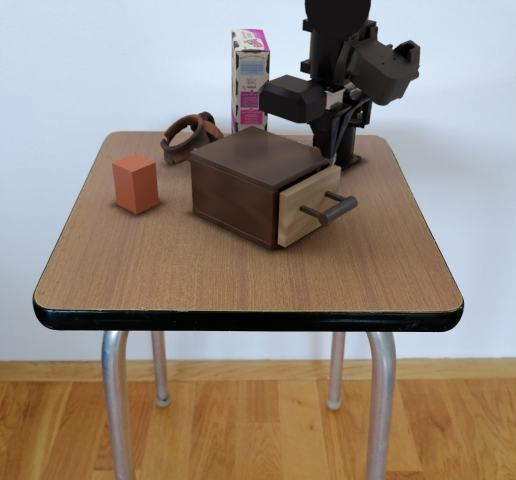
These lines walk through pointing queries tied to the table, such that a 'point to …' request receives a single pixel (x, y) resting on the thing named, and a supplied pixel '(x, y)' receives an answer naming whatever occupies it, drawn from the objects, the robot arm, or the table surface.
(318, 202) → the drawer
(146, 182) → the block
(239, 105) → the candy bar box
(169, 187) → the table surface
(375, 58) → the robot arm
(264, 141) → the cabinet
